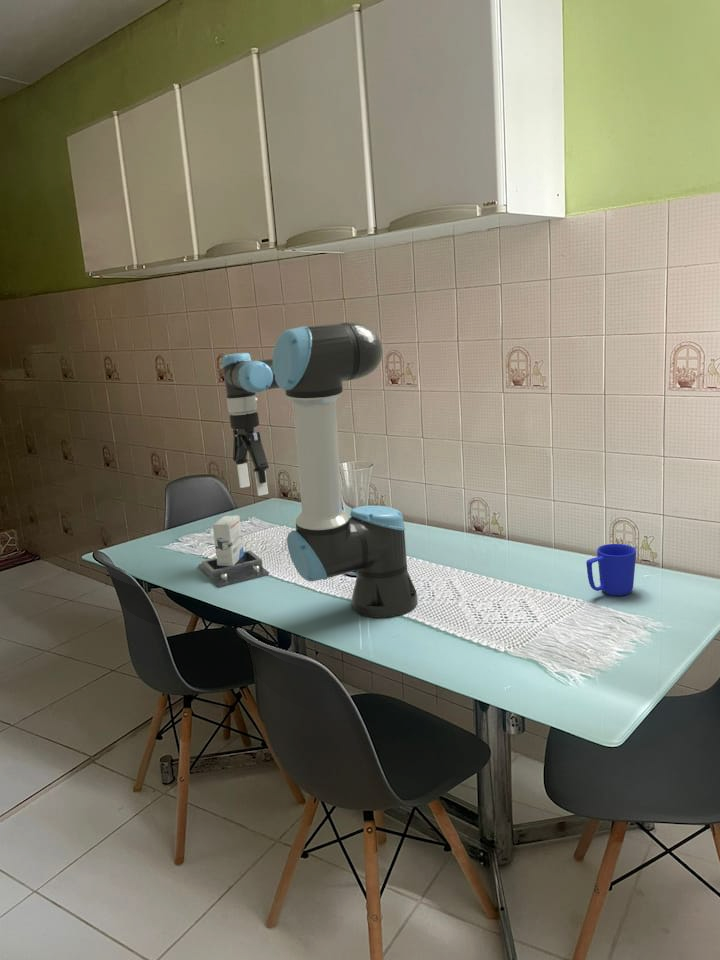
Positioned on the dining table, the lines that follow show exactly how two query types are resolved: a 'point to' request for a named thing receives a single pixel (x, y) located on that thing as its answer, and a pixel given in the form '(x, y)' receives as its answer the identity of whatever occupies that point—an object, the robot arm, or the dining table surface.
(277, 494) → the dining table surface
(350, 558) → the robot arm
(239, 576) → the tray
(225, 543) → the ink box
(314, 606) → the dining table surface
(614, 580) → the mug
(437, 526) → the dining table surface
